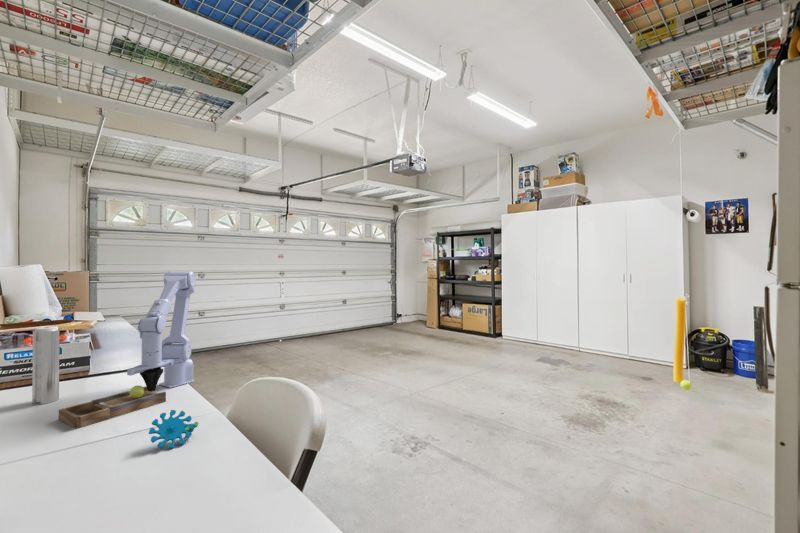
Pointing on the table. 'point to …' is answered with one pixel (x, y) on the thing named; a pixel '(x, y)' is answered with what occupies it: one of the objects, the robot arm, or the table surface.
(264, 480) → the table surface
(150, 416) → the table surface
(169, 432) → the gear
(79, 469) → the table surface
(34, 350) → the silver metal cylinder
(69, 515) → the table surface
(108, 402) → the wooden tray
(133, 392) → the ball
